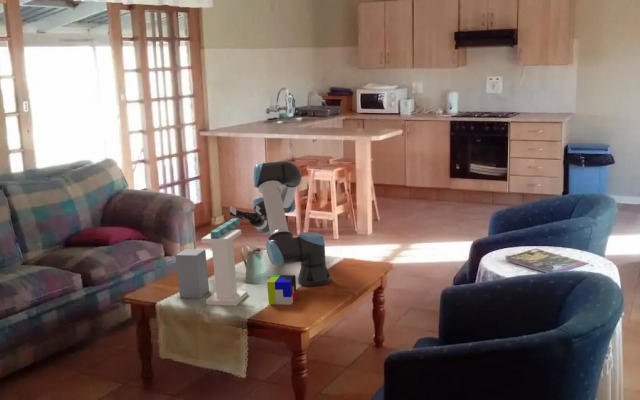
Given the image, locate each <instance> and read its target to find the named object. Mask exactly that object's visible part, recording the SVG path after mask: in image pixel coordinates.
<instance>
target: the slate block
mask: <svg viewBox="0 0 640 400" xmlns="http://www.w3.org/2000/svg"><path fill="white" fill-rule="evenodd" d="M206 252H207V251H206V249H203V248H198V249H197V248H184V249H183V250H182V251H180V252H178V253H177V254H175V261H176V263H175V264H176V273H177V281H178V291H179V292H178V293H179V298H180V297H184V299H201V298H202V297H204V296H205V295H206V294H207V293H209V292H210V288H209V287H210V285H209V275H208V274H209V273H208V265H207V264H208V262H207V253H206ZM208 291H209V292H208Z"/></svg>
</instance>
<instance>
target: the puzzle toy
mask: <svg viewBox="0 0 640 400" xmlns="http://www.w3.org/2000/svg"><path fill="white" fill-rule="evenodd" d="M296 283H297V282H296V275H295V274H292V275H291V274H273V275H272V276H271V277H270V278H269V279H268V280H267V283H266V287H267V296H268V297H267V298H268V304H269V305H292V304H293V303H294V301H295V300H296V298H297V284H296Z"/></svg>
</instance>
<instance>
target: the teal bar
mask: <svg viewBox="0 0 640 400" xmlns="http://www.w3.org/2000/svg"><path fill="white" fill-rule="evenodd" d="M238 226H240V219H239V218H237V217H232V218H231V219H229V220H228V221H226V222H224V223H223V224H221V225H220V226H218V227H216V228H215V229H212V230H211V231H210V233H211V239H218V238H220V237H221V236H223V235H224V234H226V233H227V232H229V231H230V230H235V228H237V227H238Z"/></svg>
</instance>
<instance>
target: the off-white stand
mask: <svg viewBox="0 0 640 400" xmlns="http://www.w3.org/2000/svg"><path fill="white" fill-rule="evenodd" d="M241 235H242V229H232V230H230V231H229V232H227V233H226V234H224V235H223V236H221V237H220V238H218V239H211V232H209V233H208V234H206V235H205V236H203V237H202V238H201V244H211V251H212V261H213V262H212V263H213V271H214V272H213V274H214V282H215V285H214V286H215V292H214V293H212V294H211V295H210V296H209V297H208V298H207V299H206V300H205V302H206V305H213V306H237V305H239V304H240V303H241V302H242V301H243V300H244V299H245V298H246V297H247V296H248V295H249V294H248V290H241V289H239V290H238V287H237V273H236V264H235V263H236V262H235V251H234V250H235V249H234V240H235V239H237V238H238V237H239V236H241Z"/></svg>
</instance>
